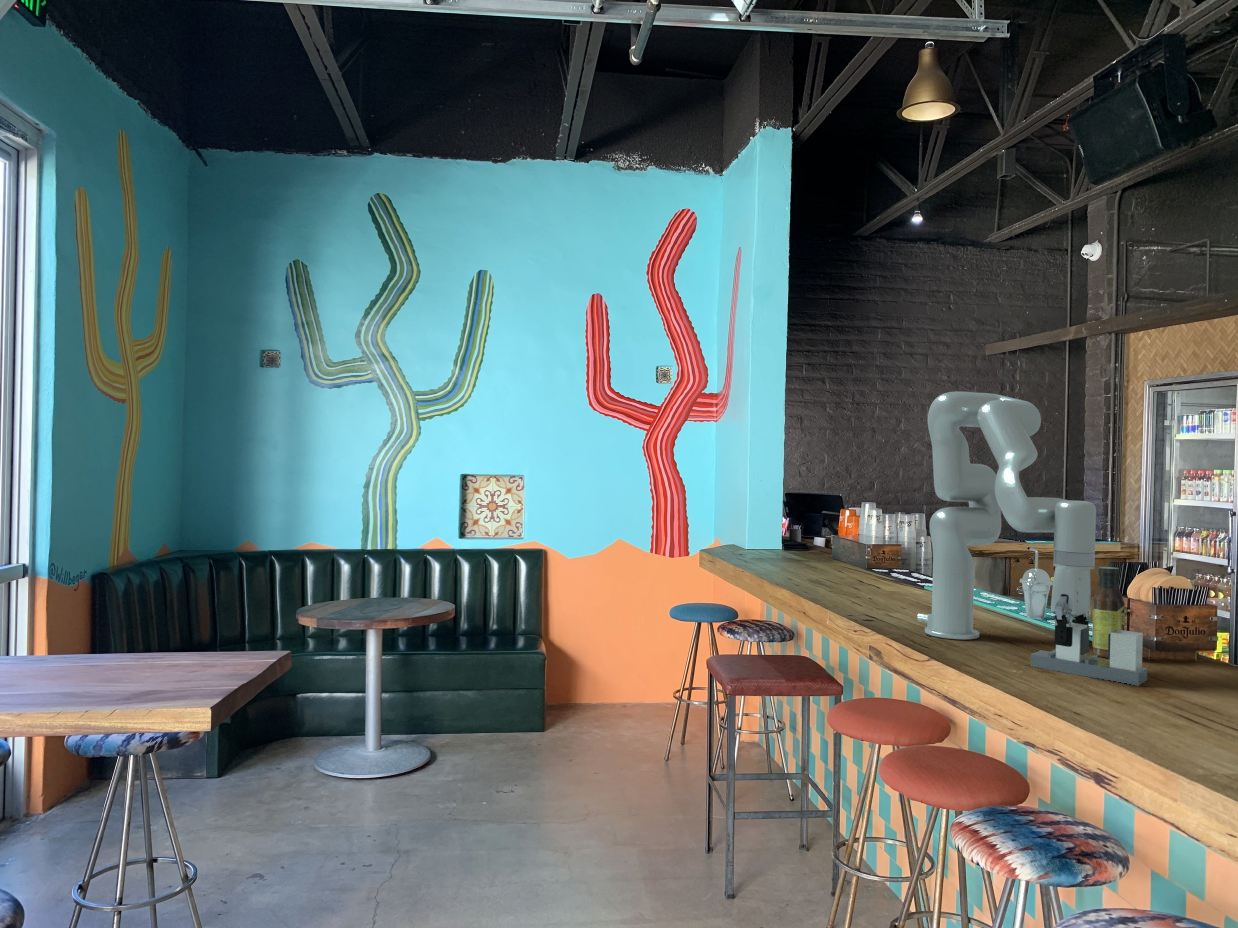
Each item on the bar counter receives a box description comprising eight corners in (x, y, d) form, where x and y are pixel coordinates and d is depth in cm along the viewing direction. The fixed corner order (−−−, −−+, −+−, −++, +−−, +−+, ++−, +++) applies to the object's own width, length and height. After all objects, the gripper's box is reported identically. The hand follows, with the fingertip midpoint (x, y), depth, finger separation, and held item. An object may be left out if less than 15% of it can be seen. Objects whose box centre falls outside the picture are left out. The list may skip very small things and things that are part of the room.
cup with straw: (1059, 620, 229) (1061, 547, 229) (1031, 621, 227) (1033, 547, 227) (1037, 614, 238) (1039, 544, 237) (1009, 615, 235) (1011, 544, 235)
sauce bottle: (1128, 660, 184) (1131, 570, 184) (1097, 658, 185) (1100, 568, 185) (1117, 653, 191) (1119, 566, 190) (1087, 651, 192) (1089, 565, 192)
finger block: (1055, 657, 174) (1056, 624, 174) (1063, 654, 177) (1064, 621, 177) (1081, 662, 171) (1082, 628, 171) (1089, 659, 174) (1090, 625, 174)
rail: (1030, 666, 177) (1031, 621, 177) (1040, 661, 181) (1041, 617, 181) (1138, 686, 163) (1139, 637, 163) (1146, 680, 167) (1148, 633, 167)
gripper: (1068, 555, 183) (1066, 633, 183) (1039, 561, 171) (1037, 644, 171) (1106, 558, 177) (1104, 639, 177) (1079, 565, 165) (1077, 651, 165)
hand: (1071, 642), depth 174 cm, fingers open, 9 cm apart
